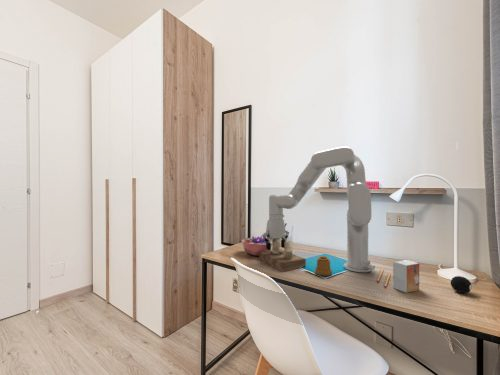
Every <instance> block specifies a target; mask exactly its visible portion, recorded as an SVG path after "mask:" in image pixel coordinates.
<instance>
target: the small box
mask: <svg viewBox="0 0 500 375" xmlns="http://www.w3.org/2000/svg"><path fill="white" fill-rule="evenodd" d="M392 268H393V269H392V288H393V289H395V290H397V291H398V290H399V291H401V292H404V293H411V292H415V291H419V290H420V263H419V262H416V261H413V260H408V259H403V260H398V261H393V262H392Z"/></svg>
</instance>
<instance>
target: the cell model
mask: <svg viewBox="0 0 500 375" xmlns="http://www.w3.org/2000/svg"><path fill="white" fill-rule="evenodd" d="M241 243H242V249H243V250H244V252H245V253H246V254H249V255H252V256H257V257H258V256H259V252H264V251H271V250H267V248H266V242H265V240H264V239H263V237H262V235H261V236H257V237H255V236H254V235H253V236H252V237H246V238H242V239H241ZM270 243H271V248H272V240H271V241H270Z"/></svg>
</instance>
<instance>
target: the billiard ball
mask: <svg viewBox="0 0 500 375" xmlns="http://www.w3.org/2000/svg"><path fill="white" fill-rule="evenodd" d="M450 286H451V288H452V289H453V290H454V291H455V292H457V293H460V294H469V293H470V292H471V290H472V288H473V287H472V286H473V285H472V283H471V281H470V280H469V279H468V278H467V277H464V276H460V275H456V276H453V277H452V278H451V280H450Z"/></svg>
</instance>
